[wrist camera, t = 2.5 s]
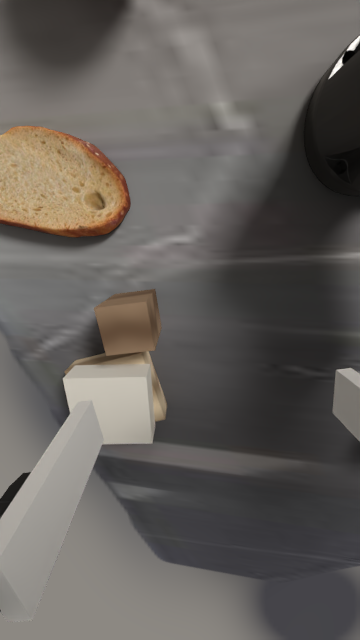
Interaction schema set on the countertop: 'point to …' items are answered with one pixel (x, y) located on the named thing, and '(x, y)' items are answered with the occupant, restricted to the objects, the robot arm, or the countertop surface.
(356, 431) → the robot arm
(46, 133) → the slice of bread
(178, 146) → the countertop surface
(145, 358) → the tower base
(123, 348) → the walnut block
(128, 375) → the tower top
